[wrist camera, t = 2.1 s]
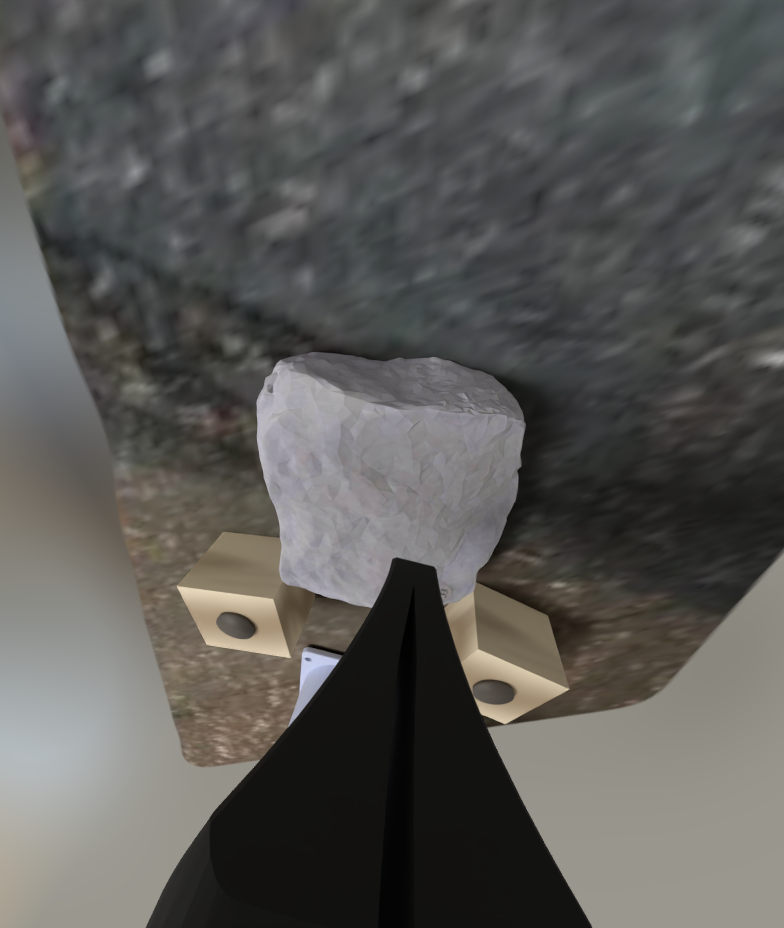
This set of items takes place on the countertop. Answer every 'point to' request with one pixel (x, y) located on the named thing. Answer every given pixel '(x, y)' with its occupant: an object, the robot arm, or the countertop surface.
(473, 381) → the stone block
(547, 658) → the beech block
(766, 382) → the countertop surface
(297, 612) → the beech block
